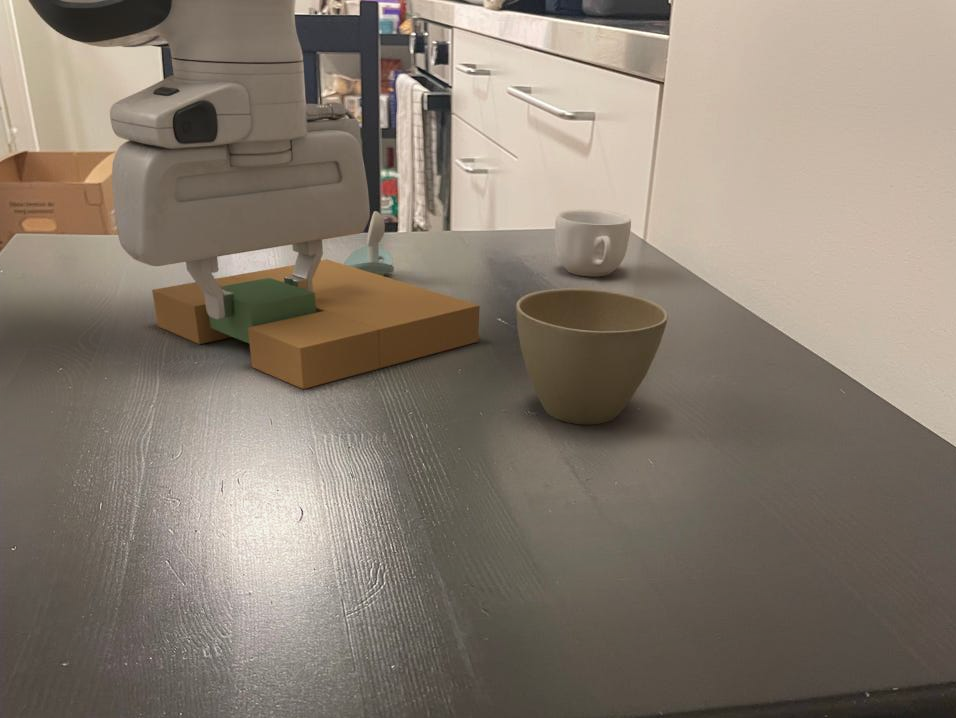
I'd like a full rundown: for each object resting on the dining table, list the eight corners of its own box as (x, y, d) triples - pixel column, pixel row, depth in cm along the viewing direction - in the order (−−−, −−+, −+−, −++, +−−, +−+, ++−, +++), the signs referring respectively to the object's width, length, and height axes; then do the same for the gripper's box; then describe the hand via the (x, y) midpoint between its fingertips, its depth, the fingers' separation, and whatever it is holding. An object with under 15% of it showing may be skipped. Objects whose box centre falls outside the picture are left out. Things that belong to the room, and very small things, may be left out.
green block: (210, 328, 76) (205, 289, 75) (272, 314, 80) (269, 277, 78) (254, 346, 73) (250, 305, 71) (317, 331, 77) (315, 292, 75)
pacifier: (333, 289, 93) (395, 287, 94) (327, 219, 90) (392, 218, 90) (334, 270, 99) (392, 269, 100) (329, 204, 96) (389, 203, 96)
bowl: (489, 423, 65) (494, 315, 61) (537, 379, 73) (543, 281, 69) (633, 450, 62) (648, 338, 58) (667, 401, 70) (682, 299, 66)
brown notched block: (157, 326, 81) (151, 289, 79) (328, 292, 92) (326, 259, 90) (303, 389, 69) (300, 347, 68) (478, 341, 80) (480, 304, 78)
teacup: (544, 263, 104) (548, 209, 101) (612, 262, 106) (618, 209, 103) (567, 286, 96) (572, 229, 93) (641, 286, 98) (648, 229, 95)
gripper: (331, 97, 76) (340, 279, 84) (85, 109, 63) (122, 322, 71) (384, 104, 72) (388, 294, 80) (134, 119, 60) (167, 342, 68)
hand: (261, 308), depth 76 cm, fingers closed on green block, 6 cm apart
